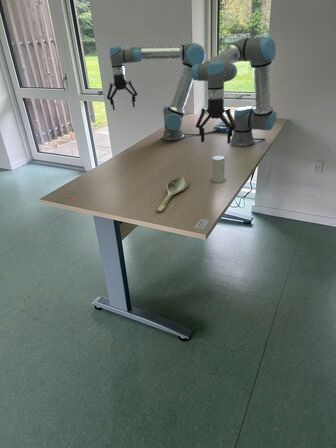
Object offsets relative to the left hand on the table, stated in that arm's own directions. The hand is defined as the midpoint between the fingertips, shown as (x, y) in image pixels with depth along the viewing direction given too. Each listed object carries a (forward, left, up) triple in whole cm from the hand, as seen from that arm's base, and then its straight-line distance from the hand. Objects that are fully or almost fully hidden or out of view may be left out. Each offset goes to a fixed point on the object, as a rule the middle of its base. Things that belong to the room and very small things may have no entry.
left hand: (124, 108), depth 224 cm
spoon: (+13, +86, -27) cm, 91 cm away
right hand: (-15, +83, -6) cm, 85 cm away
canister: (-15, +85, -27) cm, 91 cm away
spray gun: (-76, +12, -27) cm, 81 cm away
